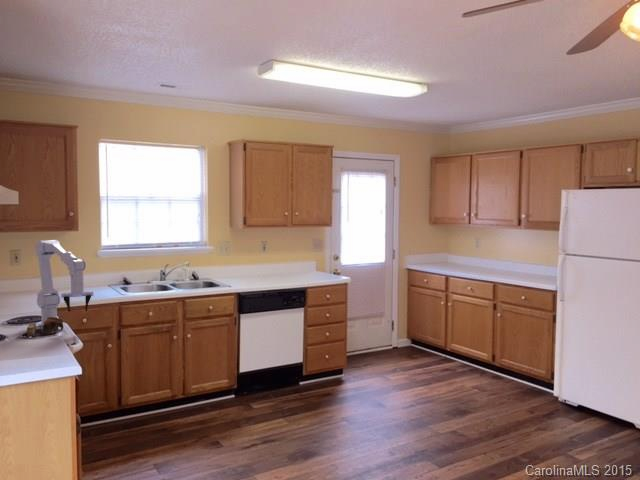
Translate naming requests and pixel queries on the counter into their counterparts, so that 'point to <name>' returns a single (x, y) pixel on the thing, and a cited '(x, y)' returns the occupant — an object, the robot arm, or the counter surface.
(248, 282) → the counter surface
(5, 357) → the counter surface
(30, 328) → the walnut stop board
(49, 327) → the pottery mug
